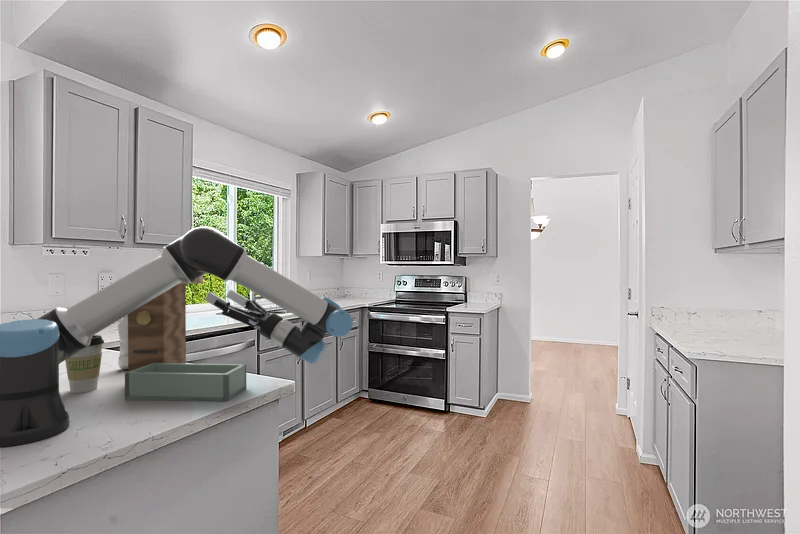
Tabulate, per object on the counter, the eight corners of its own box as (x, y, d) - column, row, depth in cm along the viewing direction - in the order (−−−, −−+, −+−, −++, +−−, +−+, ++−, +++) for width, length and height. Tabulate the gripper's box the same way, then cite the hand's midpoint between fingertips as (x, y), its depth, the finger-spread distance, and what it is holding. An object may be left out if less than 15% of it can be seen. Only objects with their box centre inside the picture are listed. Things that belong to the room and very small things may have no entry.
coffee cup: (82, 395, 121) (82, 340, 121) (53, 393, 123) (52, 339, 123) (112, 386, 131) (112, 335, 131) (84, 384, 133) (84, 334, 133)
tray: (227, 401, 116) (227, 374, 116) (124, 399, 118) (124, 373, 118) (246, 388, 128) (246, 364, 128) (153, 386, 130) (152, 363, 130)
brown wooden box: (162, 386, 130) (162, 280, 130) (123, 385, 131) (123, 280, 131) (188, 374, 144) (187, 278, 144) (152, 374, 145) (152, 278, 145)
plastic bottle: (133, 371, 149) (133, 311, 149) (113, 371, 149) (113, 311, 149) (144, 366, 155) (144, 309, 155) (125, 366, 156) (125, 309, 155)
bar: (195, 283, 134) (195, 271, 134) (137, 283, 137) (137, 271, 137) (203, 283, 137) (203, 271, 137) (145, 282, 141) (145, 271, 141)
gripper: (255, 347, 123) (190, 308, 124) (284, 333, 148) (230, 301, 149) (268, 324, 123) (203, 285, 124) (295, 314, 148) (241, 282, 149)
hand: (218, 294), depth 137 cm, fingers open, 13 cm apart
